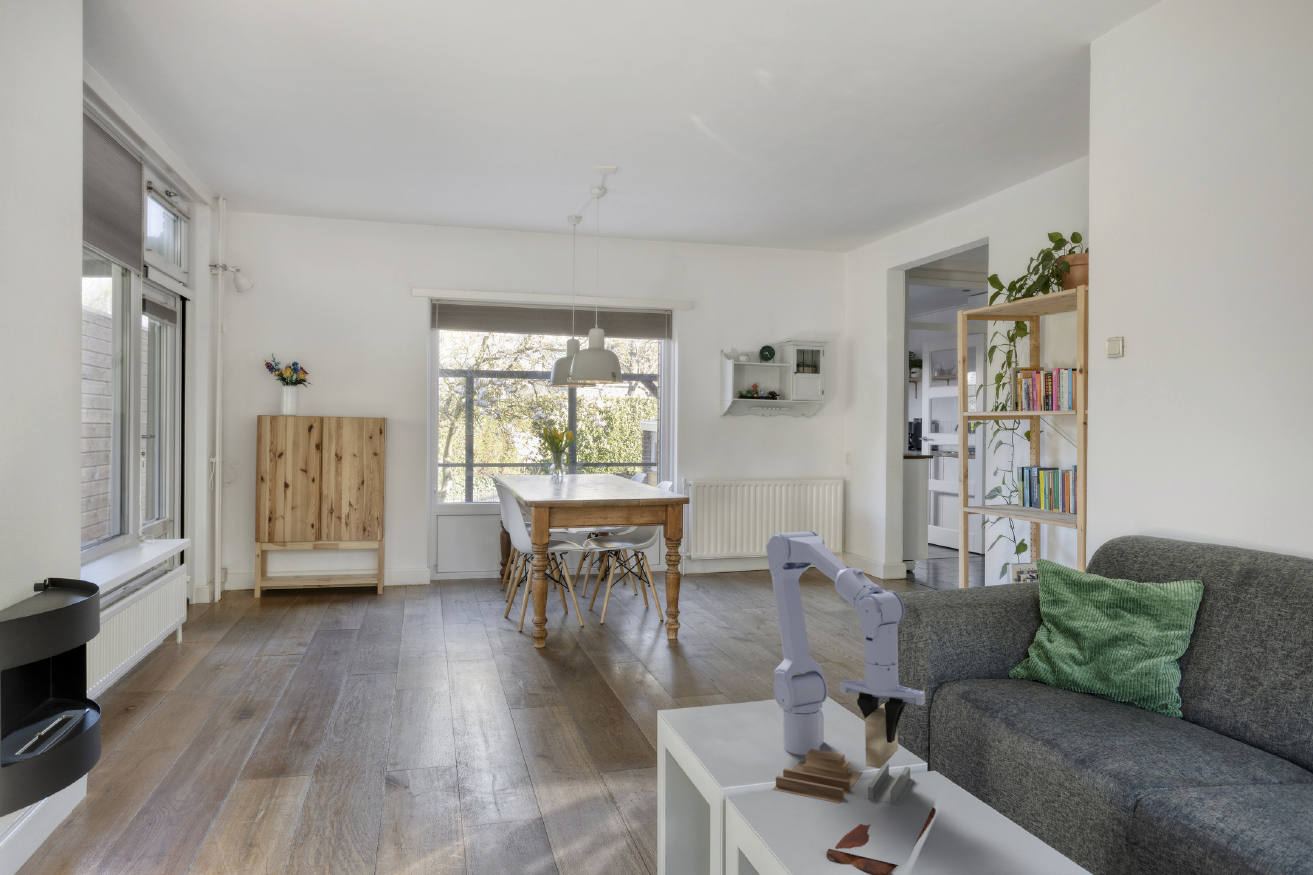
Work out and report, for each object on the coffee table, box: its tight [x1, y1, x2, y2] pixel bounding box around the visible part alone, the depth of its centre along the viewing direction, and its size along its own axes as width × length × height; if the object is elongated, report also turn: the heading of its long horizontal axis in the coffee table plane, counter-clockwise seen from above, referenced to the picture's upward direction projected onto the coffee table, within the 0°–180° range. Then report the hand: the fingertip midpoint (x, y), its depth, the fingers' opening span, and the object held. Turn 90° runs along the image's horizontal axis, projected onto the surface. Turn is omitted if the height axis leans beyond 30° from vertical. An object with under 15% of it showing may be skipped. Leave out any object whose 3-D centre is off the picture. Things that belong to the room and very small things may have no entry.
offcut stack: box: [803, 749, 852, 779], centre depth 148 cm, size 4×8×3 cm, turn 61°
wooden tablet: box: [826, 807, 937, 875], centre depth 126 cm, size 27×10×2 cm, turn 144°
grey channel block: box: [863, 762, 915, 806], centre depth 141 cm, size 12×6×3 cm, turn 151°
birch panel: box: [864, 702, 899, 770], centre depth 141 cm, size 2×10×8 cm, turn 146°
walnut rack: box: [772, 760, 863, 804], centre depth 144 cm, size 15×12×2 cm
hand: (882, 739), depth 141 cm, fingers closed on birch panel, 2 cm apart
